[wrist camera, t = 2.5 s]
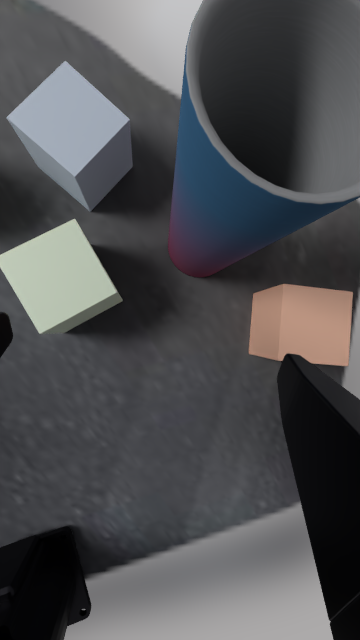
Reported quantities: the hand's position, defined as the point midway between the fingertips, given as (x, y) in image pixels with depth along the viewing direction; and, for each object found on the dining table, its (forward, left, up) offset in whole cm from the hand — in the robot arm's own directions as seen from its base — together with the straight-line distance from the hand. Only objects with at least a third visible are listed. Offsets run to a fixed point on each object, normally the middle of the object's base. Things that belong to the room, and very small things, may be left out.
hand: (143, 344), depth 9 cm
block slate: (+14, +1, -13) cm, 19 cm away
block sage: (+5, +4, -13) cm, 14 cm away
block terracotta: (-2, -11, -13) cm, 17 cm away
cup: (+6, -6, -13) cm, 15 cm away
